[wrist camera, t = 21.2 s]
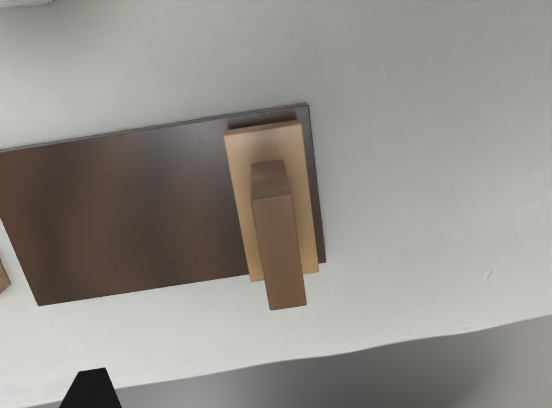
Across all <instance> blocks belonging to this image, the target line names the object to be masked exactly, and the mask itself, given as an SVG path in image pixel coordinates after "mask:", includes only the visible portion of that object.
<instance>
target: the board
mask: <svg viewBox="0 0 552 408" xmlns="http://www.w3.org/2000/svg"><path fill="white" fill-rule="evenodd" d="M291 120H299V121H300V123H301V124H302V132H303V140H304V149H305V157H306V166H307V174H308V183H309V191H310V200H311V208H312V216H313V225H314V233H315V242H316V250H317V259H318V264H319V263H325V262H326V255H325V247H324V238H323V229H322V220H321V212H320V203H319V194H318V185H317V177H316V168H315V159H314V151H313V142H312V133H311V124H310V116H309V107H308V104H307V103H299V104H292V105H286V106H280V107H273V108H267V109H260V110H254V111H247V112H241V113H234V114H228V115H222V116H215V117H209V118H202V119H196V120H189V121H183V122H176V123H170V124H164V125H157V126H151V127H144V128H138V129H131V130H125V131H119V132H112V133H106V134H99V135H93V136H86V137H80V138H73V139H67V140H61V141H54V142H48V143H41V144H35V145H28V146H22V147H15V148H9V149H3V150H0V218H1V220H2V222H3V225H4V227H5V230H6V232H7V234H8V237H9V239H10V241H11V244H12V246H13V248H14V251H15V253H16V255H17V258H18V260H19V262H20V265H21V267H22V269H23V272H24V274H25V277H26V279H27V281H28V284H29V286H30V288H31V291H32V293H33V295H34V298H35V300H36V302H37V305H38V306H44V305H51V304H57V303H64V302H70V301H77V300H83V299H90V298H97V297H103V296H110V295H116V294H123V293H129V292H136V291H142V290H149V289H155V288H162V287H168V286H175V285H181V284H188V283H195V282H201V281H208V280H214V279H221V278H227V277H234V276H240V275H247V274H249V270H248V265H247V259H246V254H245V249H244V244H243V238H242V233H241V228H240V223H239V217H238V212H237V207H236V201H235V196H234V191H233V186H232V180H231V175H230V170H229V165H228V159H227V154H226V149H225V143H224V138H223V135H224V132H225V131H226V130H232V129H238V128H245V127H252V126H258V125H265V124H271V123H278V122H285V121H291Z"/></svg>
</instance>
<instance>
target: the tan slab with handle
mask: <svg viewBox="0 0 552 408" xmlns="http://www.w3.org/2000/svg"><path fill="white" fill-rule="evenodd" d="M223 138H224V143H225V149H226V154H227V159H228V165H229V170H230V175H231V180H232V186H233V191H234V196H235V201H236V207H237V212H238V217H239V223H240V228H241V233H242V238H243V244H244V249H245V254H246V259H247V265H248V270H249V275H250V280H251V282H254V281H261V280H265V285H266V291H267V297H268V303H269V308H270V310H278V309H284V308H291V307H298V306H304V305H306V304H307V302H306V295H305V287H304V280H303V274H308V273H315V272H319V267H318V259H317V250H316V242H315V233H314V225H313V216H312V208H311V200H310V191H309V183H308V174H307V166H306V157H305V149H304V140H303V132H302V124H301V123H300V121H299V120H291V121H285V122H278V123H271V124H265V125H258V126H252V127H245V128H238V129H232V130H226V131H225V132H224V135H223Z"/></svg>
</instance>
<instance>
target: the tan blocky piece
mask: <svg viewBox="0 0 552 408" xmlns="http://www.w3.org/2000/svg"><path fill="white" fill-rule="evenodd" d="M9 285H10V282H9V280H8V277H7V275H6V273H5V271H4V268H3V266H2V264H1V261H0V294H1V293H2V292H3V291H4V290H5V289H6V288H7V287H8V286H9Z"/></svg>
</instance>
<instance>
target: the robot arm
mask: <svg viewBox="0 0 552 408" xmlns="http://www.w3.org/2000/svg"><path fill="white" fill-rule="evenodd" d="M59 408H122V407H121V405H120V402H119V400H118V397H117V395H116V392H115V390H114V387H113V385H112V382H111V380H110V378H109V375H108V373H107V370H106V368H99V369H93V370H86V371H80V372H78V374H77V376H76V377H75V379H74V381H73V383H72V385H71V387H70V388H69V390H68V392H67V394H66V396H65V398H64V399H63V401H62V403H61V405H60V407H59Z"/></svg>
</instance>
